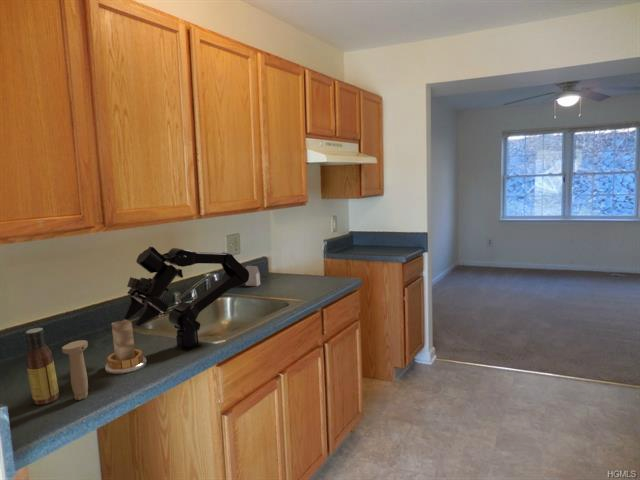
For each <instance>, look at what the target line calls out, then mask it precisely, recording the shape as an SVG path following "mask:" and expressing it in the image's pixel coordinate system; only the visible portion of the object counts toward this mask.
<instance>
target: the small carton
mask: <svg viewBox="0 0 640 480" xmlns="http://www.w3.org/2000/svg"><path fill="white" fill-rule="evenodd" d="M245 269H247V270H248V272H249V280H248V281H247V282H246V283H245V286H246V287H247V286H248V287H258V286H261V274H260V270H259V268H258V265H257V266H256V265H255V266H253V265H246V266H245Z"/></svg>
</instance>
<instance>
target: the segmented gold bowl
mask: <svg viewBox="0 0 640 480" xmlns="http://www.w3.org/2000/svg"><path fill="white" fill-rule="evenodd" d="M147 362H148V361H147V358H146V357H145V356H144V355H143V351H142V350H141V349H137V348H135V357H133V358H130V359H126V360H116V359H115V352H113V353H111V354H110V355H109V356H107V363H106V364H105V365H104V370H105V372H106V373H108V374H111V375H122V374H128V373H132V372H135V371H138V370H140V369H143V367H145V366H146V365H147Z"/></svg>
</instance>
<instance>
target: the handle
mask: <svg viewBox="0 0 640 480" xmlns="http://www.w3.org/2000/svg"><path fill="white" fill-rule="evenodd" d="M88 346H89V343H88V340H85V339H84V340H83V339H82V340H74V341H71V342H69V343H67V344H65V345H63V346H62V347H61V350H62V351H61V352H62V353H63V354H64V355H65V354H66V355H68V358H69V370H70V371H69V373H70V385H71V388H72V393H73V394H74V395H73V397H74V398H73V399H75V400H78V401H81V400H85V399H87V397H88V395H89V391H88V389H89V382H88V380H89V379H88V374H87V369H86V362H85V357H84V351H85V350H86V349H87V347H88Z"/></svg>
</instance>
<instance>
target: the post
mask: <svg viewBox="0 0 640 480" xmlns="http://www.w3.org/2000/svg"><path fill="white" fill-rule="evenodd" d="M110 325H111V331H112V338H113V339H112V341H113V348H114V350H113V351H114V353H115V359H116V360H126V359H130V358H133V357H135V349H136V348H135V341H134V331H133V322H131V321H130V320H129V319H128V320H125V319H122V320H118V321H115V322H111V324H110Z"/></svg>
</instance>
